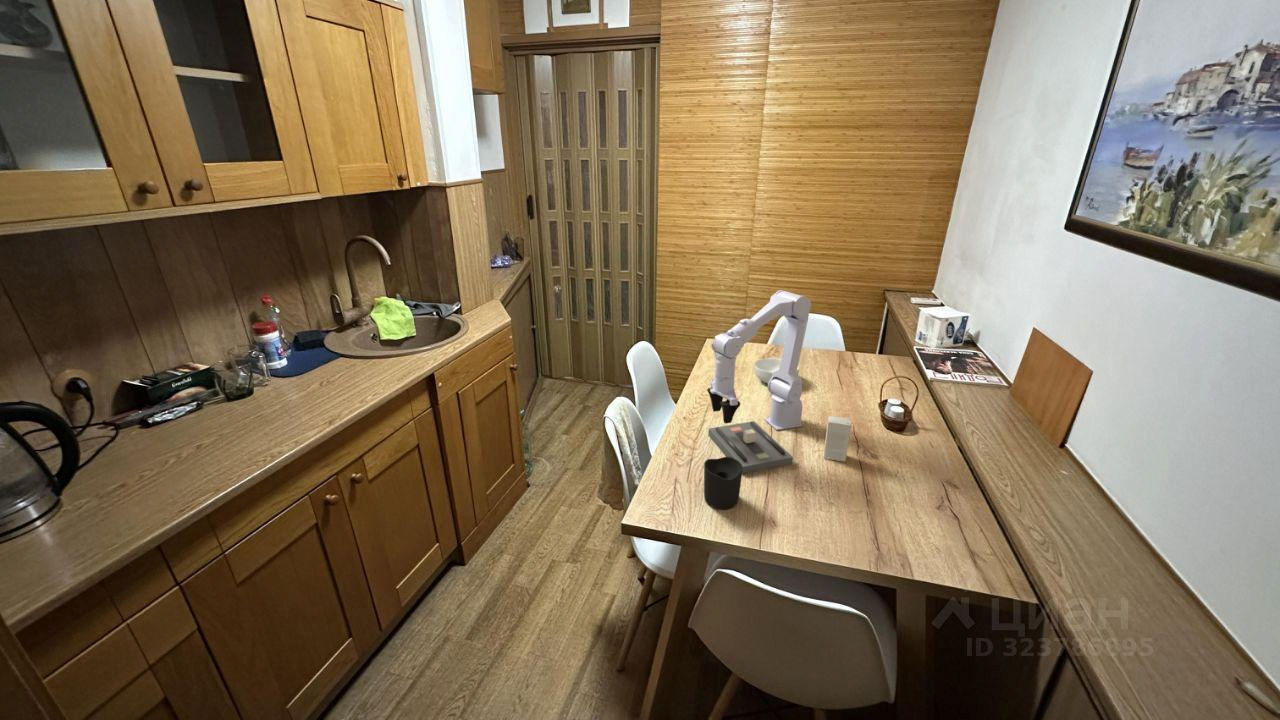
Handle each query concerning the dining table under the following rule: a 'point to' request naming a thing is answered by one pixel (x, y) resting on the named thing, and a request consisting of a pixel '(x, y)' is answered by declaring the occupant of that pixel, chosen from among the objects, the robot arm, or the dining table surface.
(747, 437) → the breaker toggle
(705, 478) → the pen holder
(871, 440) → the dining table surface
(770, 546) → the dining table surface
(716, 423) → the dining table surface
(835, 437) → the skincare box
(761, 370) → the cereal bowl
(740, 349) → the robot arm
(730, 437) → the breaker panel
